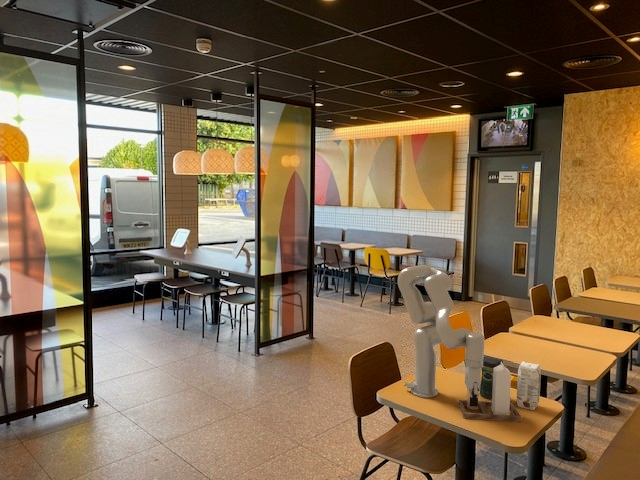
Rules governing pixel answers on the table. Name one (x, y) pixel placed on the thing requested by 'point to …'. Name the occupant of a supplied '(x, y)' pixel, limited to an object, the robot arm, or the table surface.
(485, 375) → the coffee jar
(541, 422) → the table surface
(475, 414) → the organizer
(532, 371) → the juice carton
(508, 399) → the milk
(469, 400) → the shaker
